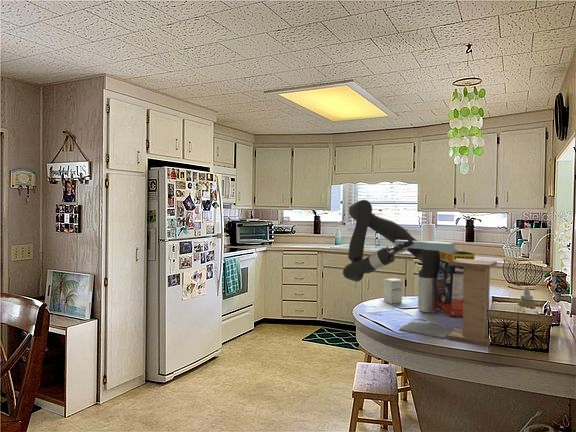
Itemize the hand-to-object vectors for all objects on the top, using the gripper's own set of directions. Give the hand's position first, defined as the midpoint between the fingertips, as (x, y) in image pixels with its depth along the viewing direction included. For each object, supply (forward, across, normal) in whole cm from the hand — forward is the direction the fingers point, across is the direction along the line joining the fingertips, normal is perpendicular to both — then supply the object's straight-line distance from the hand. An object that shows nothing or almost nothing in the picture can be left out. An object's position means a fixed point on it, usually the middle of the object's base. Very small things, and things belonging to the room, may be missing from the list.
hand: (413, 241), depth 187 cm
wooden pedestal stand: (+2, 0, +45) cm, 45 cm away
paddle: (+2, 0, +5) cm, 5 cm away
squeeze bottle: (+16, +30, +53) cm, 63 cm away
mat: (-13, 0, +36) cm, 38 cm away
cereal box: (-15, +41, +36) cm, 56 cm away
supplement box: (-42, +43, +20) cm, 64 cm away
